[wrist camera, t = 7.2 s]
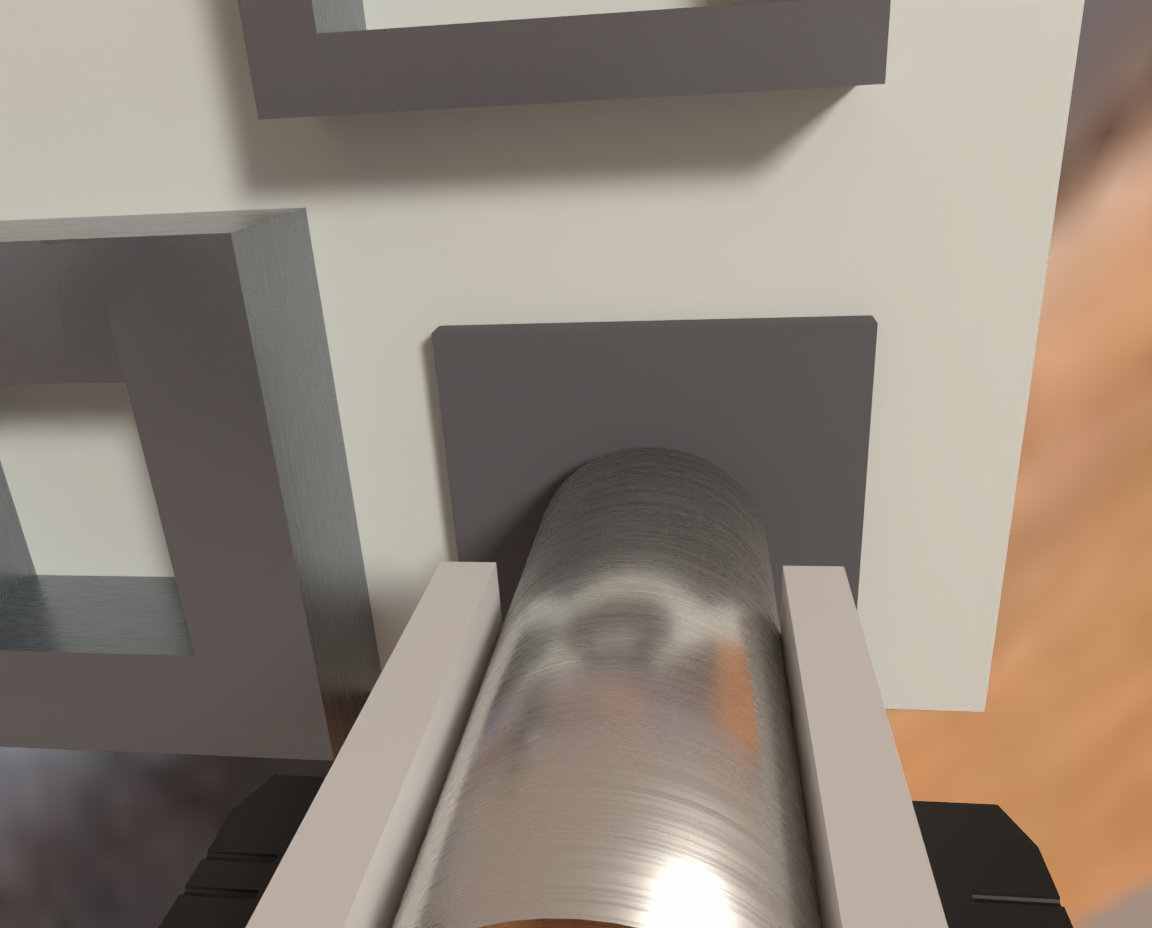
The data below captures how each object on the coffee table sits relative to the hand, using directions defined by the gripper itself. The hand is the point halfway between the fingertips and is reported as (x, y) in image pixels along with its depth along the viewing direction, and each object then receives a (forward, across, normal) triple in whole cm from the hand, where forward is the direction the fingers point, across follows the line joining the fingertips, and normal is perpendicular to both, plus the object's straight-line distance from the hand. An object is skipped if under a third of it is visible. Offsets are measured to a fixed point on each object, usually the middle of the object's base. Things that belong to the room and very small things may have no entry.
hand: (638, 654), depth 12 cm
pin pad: (+4, 0, 0) cm, 4 cm away
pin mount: (+4, -10, +1) cm, 11 cm away
